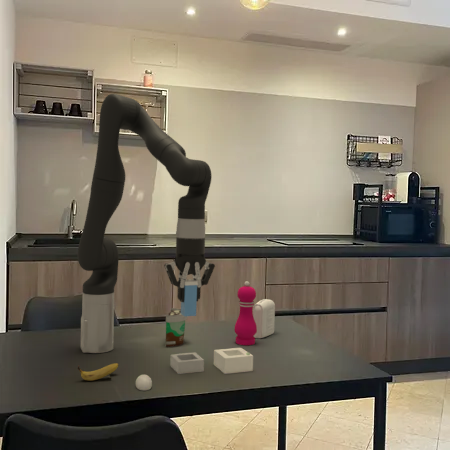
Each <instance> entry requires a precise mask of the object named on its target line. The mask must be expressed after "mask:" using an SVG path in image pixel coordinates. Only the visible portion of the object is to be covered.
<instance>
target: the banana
mask: <svg viewBox="0 0 450 450" xmlns="http://www.w3.org/2000/svg"><path fill="white" fill-rule="evenodd" d="M119 366H120V365H119V362H118V363H116V362H115V363H111V364H109V365H108V364H107V365H105V366H104V367H102V368H99V369H96V370H92V371H91V370H90V371H83V370H82V369H81V368H80V365H77V370H78V371H79V373H80V377H81V378H82V380H84V381H89V382H91V381H97V380H101V379H102V378H106V376H109V375H111V374H112V373H114V372H115V371H116V370H117V369H118V367H119Z"/></svg>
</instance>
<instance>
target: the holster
mask: <svg viewBox="0 0 450 450" xmlns="http://www.w3.org/2000/svg"><path fill="white" fill-rule="evenodd" d="M169 361H170V362H169V363H170V367H171V369H172V370H173V371H174V372H175V373H177V375H182V374H191V373H192V374H193V373H200V372H201V373H202V372H205V370H204V369H205V359H204V358H202V357H201V356H200V355H199V354H198V353H197V352H184V353H175V354H170V360H169Z"/></svg>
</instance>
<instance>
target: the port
mask: <svg viewBox="0 0 450 450" xmlns="http://www.w3.org/2000/svg"><path fill="white" fill-rule="evenodd" d="M213 366H215V367H216V368H217V369H218V370H219V371H221V373H223V374H224V375H226V374H236V373H246V372H253V371H254V355H253V354H251V352H249V351H246V350H245V349H243V348H242V347H233V348H222V349H221V348H220V349H214V350H213Z"/></svg>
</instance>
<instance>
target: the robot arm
mask: <svg viewBox="0 0 450 450" xmlns="http://www.w3.org/2000/svg"><path fill="white" fill-rule="evenodd" d="M100 107H101V108H100V110H99V111H100V112H99V120H98V121H99V122H98V138H97V139H98V140H97V147H96V148H97V150H96V156H95V162H94V163H95V164H94V169H93V174H92V181H91V186H90V195H89V199H88V204H87V205H88V206H87V210H86V211H87V212H86V215H85V216H86V217H85V221H84V225H83V230H82V232H81V236H80V238H79V239H80V240H79V243H78V248H77V263H78V265H79V266H80V268H81V269H83V270H84V271H87V272H92V273H91V275H90V277H89V278H88V279H87V280H86V281H84V283H82V302H81V303H82V306H81V307H82V308H81V309H82V312H81V313H82V314H81V316H80V349H81V351H82V353H90V354H100V353H101V354H103V353H107V352H110V351H112V350H113V349H114V331H115V329H114V324H115V323H114V322H115V321H114V319H115V318H114V317H115V316H114V315H115V314H114V313H115V287H116V285H117V281H118V275H119V274H118V272H119V259H120V258H119V250H118V249H119V248H118V246H117V244H116V243H115V241H114V240H112V239H110V238H105V234H106V229H107V226H108V224H109V222H110V220H111V218H112V216H113V215H114V213H115V211H116V210H117V208H118V207H119V205H120V203H121V201H122V198H123V195H124V191H125V182H126V171H125V167H124V164H123V159H122V158H121V155H120V150H119V149H120V148H119V141H120V140H119V138H120V137H119V136H120V131H121V130H125V131H130V132H131V133H132V132H133V134H136V135H138V137H140V138H141V139H142V140H143V142H144V144H145V146H146V149H147V150H148V152H149V153H150V154H151V155H152V157H154V158H155V159H156V160H157V161H158V162H159V163H161V164H162V165H163V167H165V169H166V171H167V172H168V174H169V176H170V177H171V178H172V180H174V182H175V183H177V184H178V185H180V186H183V187H188V189H187V193H186V195H183V196H180V198H179V199H178V203H177V205H178V206H177V222H176V231H175V235H176V236H175V241H176V242H175V244H176V245H175V257H174V259H173V261H171V262H169V263H164V269H165V272H166V274H167V277H168V279H169V282H170V284H171V285H173V286H175V287H177V296H176V297H177V299H178V300H179V302H180V303H181V302H184V293H185V288H184V284H185V281H186V280H187V278H188V276H189V275H191V276H192V277H191V278H192V279H193V280H196V281H198V285H197V302H198V301H199V300H201V287H203V286H206V285H208V284H209V282H210V281H209V280H210V279H211V276H212V274H213V272H214V269H215V267H216V266H215V265H216V264H214V263H213V262H209V261H207V259H206V257H205V252H206V249H205V248H206V222H205V216H206V215H205V214H206V201H207V198H208V195H209V190H210V187H211V183H212V171H211V168H210V167H211V166H209V164H208V163H207V162H206V161H204V160H199V159H191V158H190V157H189V158H188V157H187V153H186V150H185V149H184V147H183V146H182V145H181V144H179V142H178V141H176V140H175V139H173V137H171V136H170V135H169V134H168V133H166V132H165V131H164V130H163V129H162V128H161V127H160V126H159V125H158V124H157V123H156V121H154V119H153V118H152V117H151V116H150V114H149V113H148V112H147V111H146V109H145V108H144V107H143V105H141V104H140V102H138V101H137V100H136V99H134V98H132V97H127V96H125V95H120V94H118V93H109V94H108V95H106V97H105V98H104V99H103V101H102V104H101V106H100ZM175 266H176V268H177V270H178V271H179V272H178V276H177V277H178V279H177V277H176V275H175V272H174V271H175ZM203 267H204V272H203V273H202V275H201V270H202V269H203ZM201 276H202V277H201Z"/></svg>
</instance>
